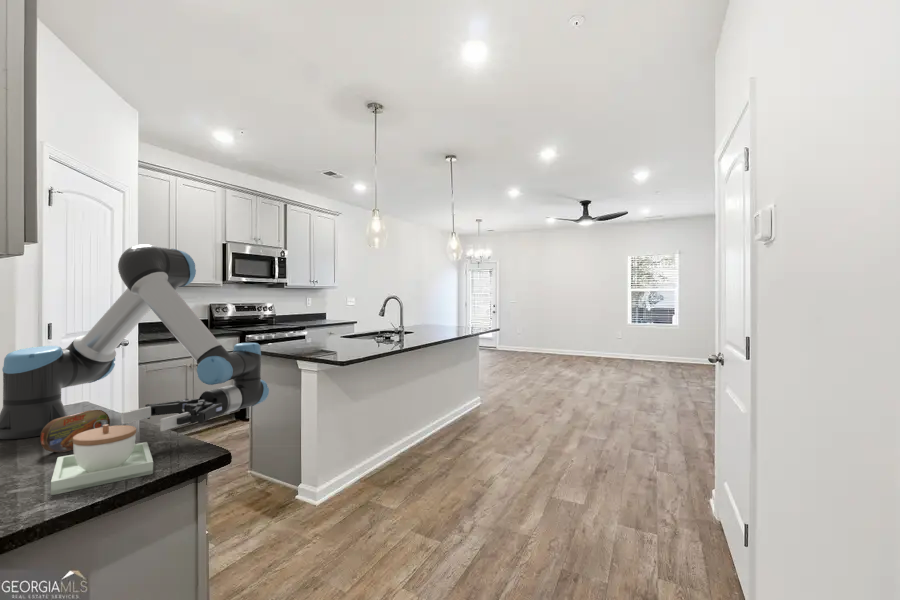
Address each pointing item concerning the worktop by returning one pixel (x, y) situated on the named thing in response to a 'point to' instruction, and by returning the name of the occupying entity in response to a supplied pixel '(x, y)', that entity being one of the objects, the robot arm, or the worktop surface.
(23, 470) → the worktop surface
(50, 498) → the worktop surface
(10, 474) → the worktop surface
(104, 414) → the tin
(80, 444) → the lidded jar
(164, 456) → the worktop surface
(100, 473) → the tray
